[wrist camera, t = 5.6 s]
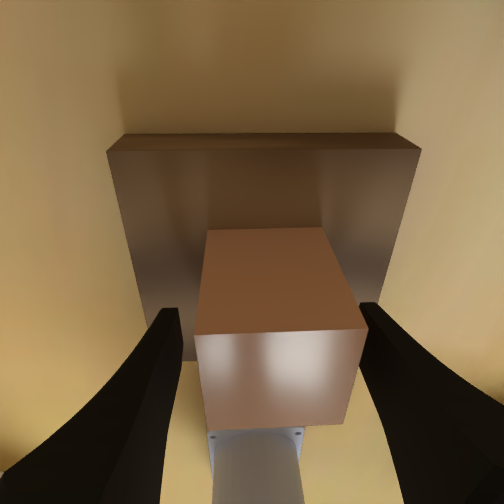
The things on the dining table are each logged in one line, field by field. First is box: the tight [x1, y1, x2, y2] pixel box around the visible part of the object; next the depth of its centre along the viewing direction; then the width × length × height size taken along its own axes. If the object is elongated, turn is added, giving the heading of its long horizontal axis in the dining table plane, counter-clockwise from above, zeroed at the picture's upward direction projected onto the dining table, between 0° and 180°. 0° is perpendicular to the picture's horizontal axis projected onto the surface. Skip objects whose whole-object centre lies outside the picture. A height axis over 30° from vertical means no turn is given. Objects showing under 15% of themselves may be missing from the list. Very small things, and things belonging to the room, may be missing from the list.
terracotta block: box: [194, 227, 368, 431], centre depth 13 cm, size 5×5×6 cm
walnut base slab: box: [106, 133, 422, 361], centre depth 17 cm, size 12×12×2 cm
